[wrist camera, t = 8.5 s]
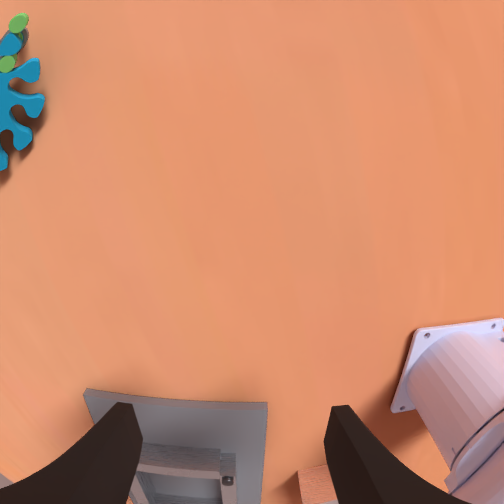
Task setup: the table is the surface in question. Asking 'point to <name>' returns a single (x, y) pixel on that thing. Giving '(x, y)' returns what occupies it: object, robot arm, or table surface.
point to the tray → (193, 448)
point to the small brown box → (317, 486)
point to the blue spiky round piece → (4, 97)
